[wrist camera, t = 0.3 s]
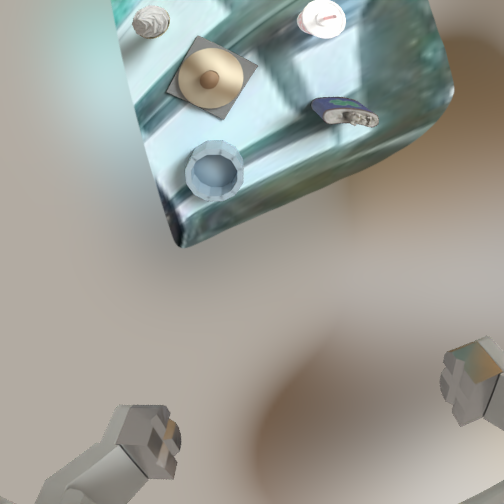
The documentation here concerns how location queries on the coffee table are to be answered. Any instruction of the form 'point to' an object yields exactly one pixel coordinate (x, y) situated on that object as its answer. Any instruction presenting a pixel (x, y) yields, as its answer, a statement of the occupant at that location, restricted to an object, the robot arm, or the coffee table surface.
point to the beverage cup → (322, 19)
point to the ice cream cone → (151, 22)
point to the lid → (210, 78)
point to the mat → (204, 43)
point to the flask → (344, 111)
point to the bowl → (214, 171)
